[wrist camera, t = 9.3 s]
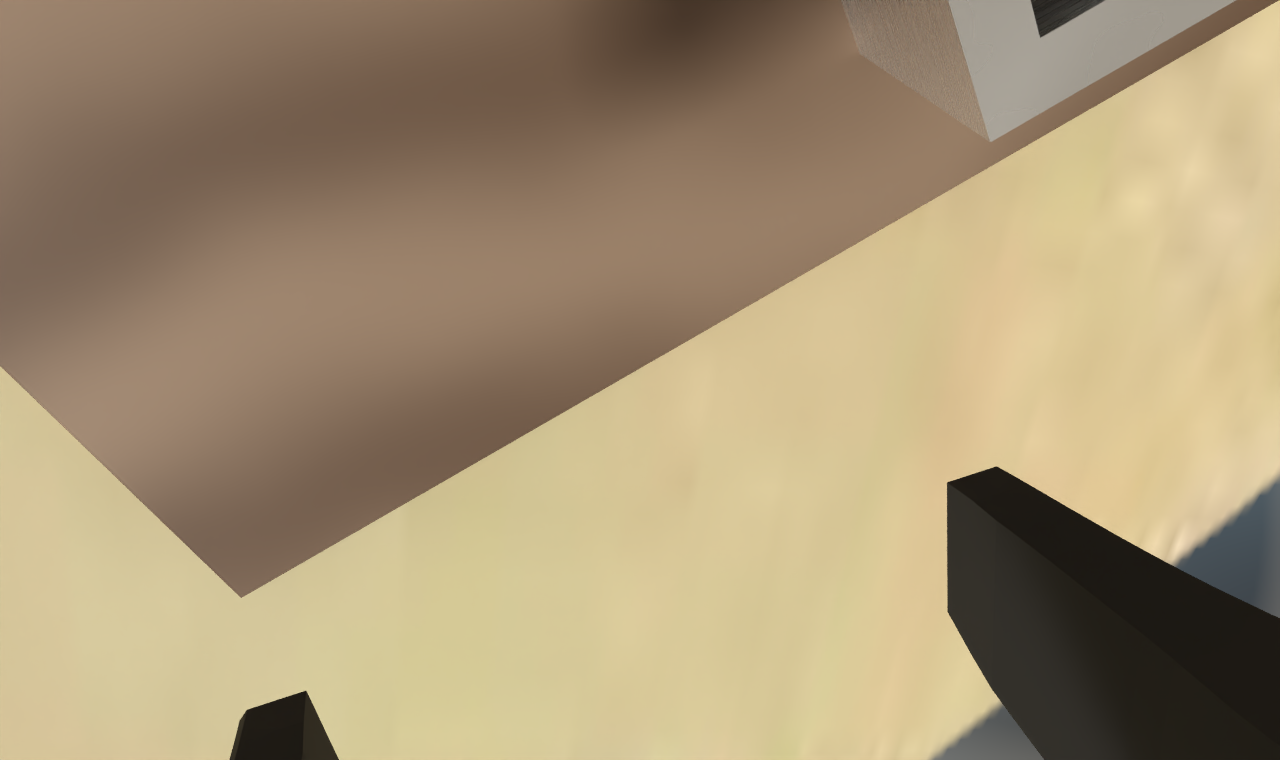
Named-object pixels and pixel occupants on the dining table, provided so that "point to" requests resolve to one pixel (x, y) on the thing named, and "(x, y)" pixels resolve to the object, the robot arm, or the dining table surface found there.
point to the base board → (419, 224)
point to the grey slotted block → (1011, 48)
